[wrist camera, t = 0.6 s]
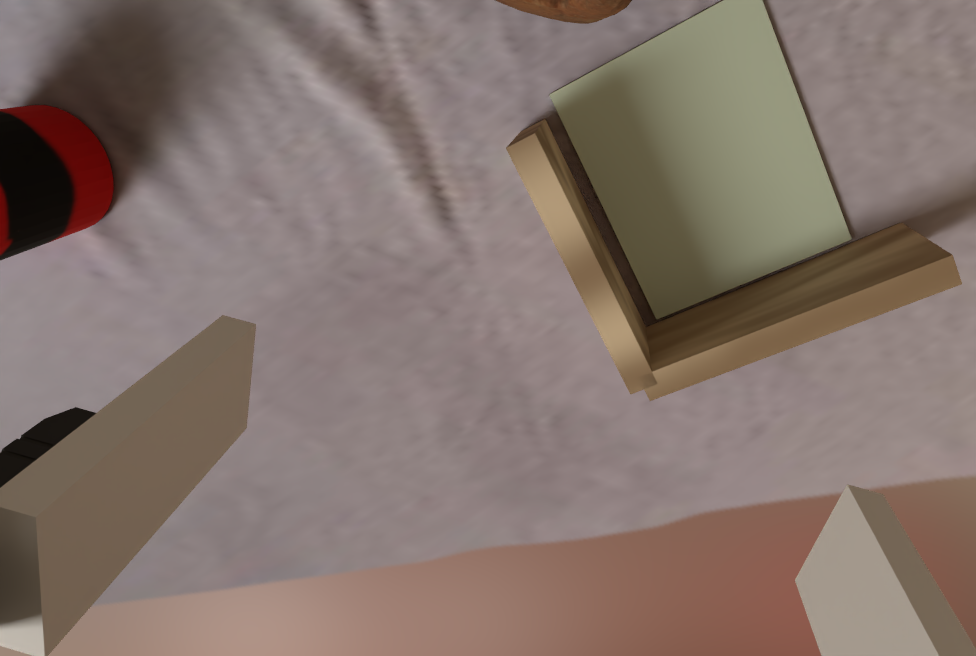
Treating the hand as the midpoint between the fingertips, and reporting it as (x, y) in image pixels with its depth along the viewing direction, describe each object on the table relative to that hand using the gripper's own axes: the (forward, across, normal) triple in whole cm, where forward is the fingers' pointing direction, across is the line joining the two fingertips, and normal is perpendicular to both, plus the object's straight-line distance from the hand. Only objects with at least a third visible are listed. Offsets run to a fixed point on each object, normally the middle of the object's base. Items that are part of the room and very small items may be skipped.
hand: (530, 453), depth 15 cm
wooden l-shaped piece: (+26, +7, +2) cm, 27 cm away
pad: (+26, +6, +3) cm, 27 cm away
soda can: (+26, -31, -6) cm, 41 cm away
